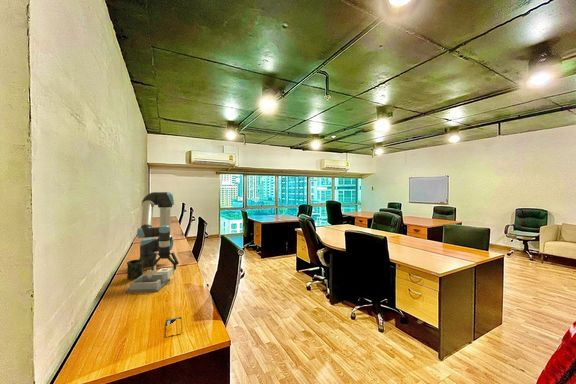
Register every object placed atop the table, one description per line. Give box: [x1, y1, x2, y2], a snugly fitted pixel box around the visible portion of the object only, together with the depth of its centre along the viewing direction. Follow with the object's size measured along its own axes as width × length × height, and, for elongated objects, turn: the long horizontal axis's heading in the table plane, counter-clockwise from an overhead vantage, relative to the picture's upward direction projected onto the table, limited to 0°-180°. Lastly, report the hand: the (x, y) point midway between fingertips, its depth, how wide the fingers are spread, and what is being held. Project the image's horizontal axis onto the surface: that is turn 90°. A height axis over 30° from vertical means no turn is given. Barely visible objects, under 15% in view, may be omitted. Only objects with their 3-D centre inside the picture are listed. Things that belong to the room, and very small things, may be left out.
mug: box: [126, 259, 144, 280], centre depth 179 cm, size 11×15×12 cm
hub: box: [156, 267, 173, 279], centre depth 182 cm, size 13×8×6 cm, turn 6°
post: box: [146, 268, 153, 282], centre depth 164 cm, size 3×3×10 cm
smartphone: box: [164, 316, 182, 326], centre depth 116 cm, size 7×1×15 cm
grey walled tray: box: [125, 273, 171, 294], centre depth 164 cm, size 20×20×5 cm
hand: (164, 274), depth 179 cm, fingers open, 13 cm apart
